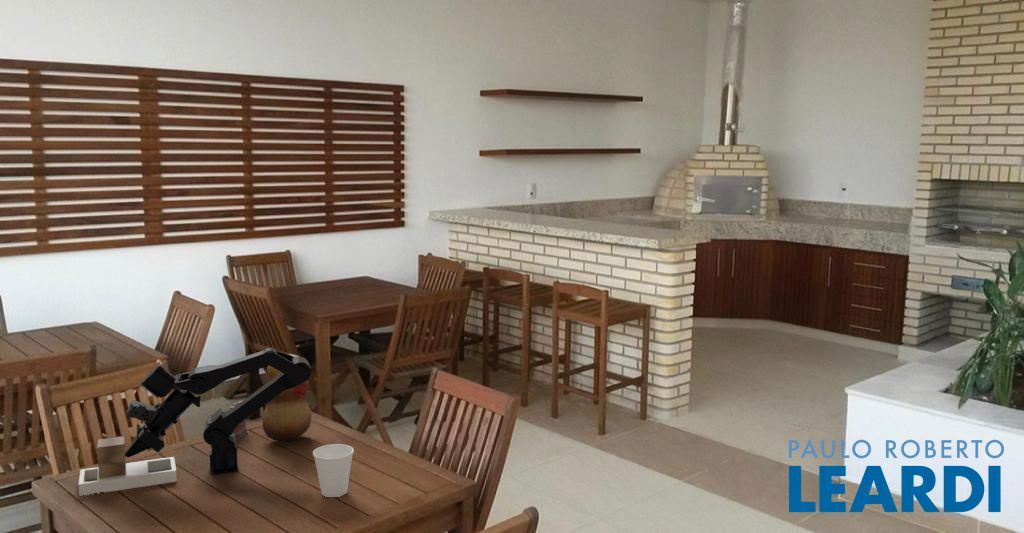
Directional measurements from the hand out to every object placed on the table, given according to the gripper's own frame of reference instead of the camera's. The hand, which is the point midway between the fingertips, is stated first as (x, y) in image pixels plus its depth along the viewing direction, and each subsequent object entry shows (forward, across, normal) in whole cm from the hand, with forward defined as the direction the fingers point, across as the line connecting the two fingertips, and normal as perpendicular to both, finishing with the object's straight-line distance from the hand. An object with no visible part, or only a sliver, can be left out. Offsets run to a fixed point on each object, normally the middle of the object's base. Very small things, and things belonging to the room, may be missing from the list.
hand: (126, 456), depth 208 cm
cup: (-28, +28, +38) cm, 55 cm away
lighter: (-16, -23, +26) cm, 38 cm away
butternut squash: (-25, -14, +35) cm, 45 cm away
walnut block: (+5, 0, 0) cm, 5 cm away
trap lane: (+4, 0, +5) cm, 7 cm away
